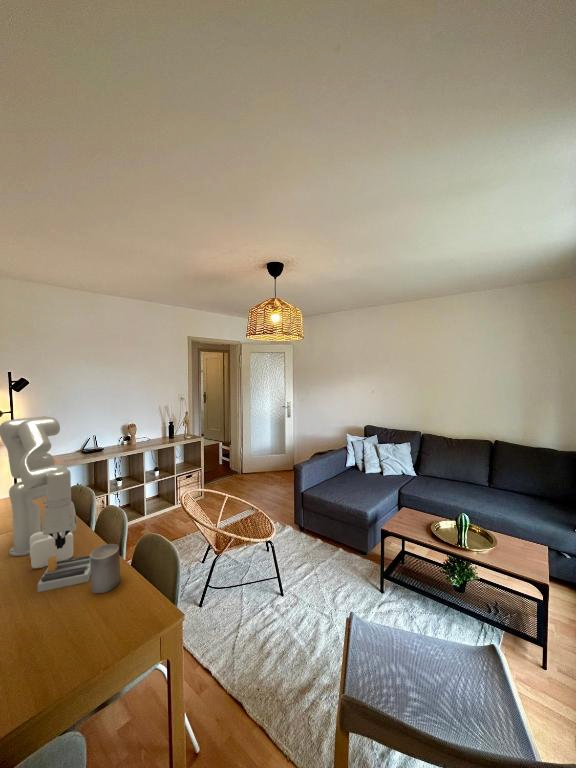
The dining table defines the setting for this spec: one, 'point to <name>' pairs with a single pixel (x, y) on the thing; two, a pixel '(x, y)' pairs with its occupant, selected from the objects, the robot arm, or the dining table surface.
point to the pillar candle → (105, 568)
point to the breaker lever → (52, 564)
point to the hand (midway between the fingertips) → (60, 546)
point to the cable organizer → (48, 549)
